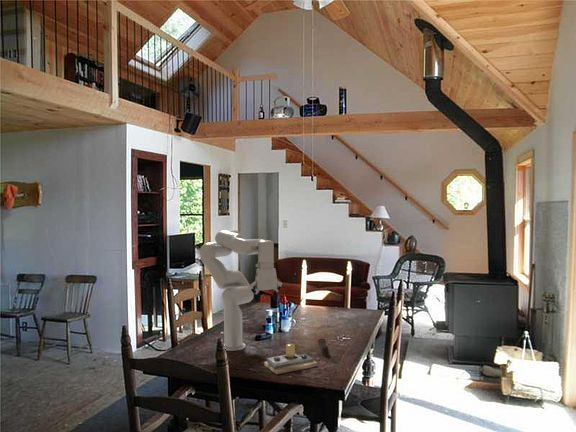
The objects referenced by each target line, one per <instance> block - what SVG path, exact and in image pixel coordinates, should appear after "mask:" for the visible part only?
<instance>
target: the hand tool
mask: <svg viewBox="0 0 576 432" xmlns="http://www.w3.org/2000/svg"><path fill="white" fill-rule="evenodd" d="M317 342H318V347H320V351H321V355H322V356H323V357H324V358H326V357H327V354H328V345H327V342H326V339H325V338H319V339H318V340H317Z"/></svg>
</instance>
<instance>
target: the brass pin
mask: <svg viewBox="0 0 576 432" xmlns="http://www.w3.org/2000/svg"><path fill="white" fill-rule="evenodd" d="M295 348H296V345H295V343H287V344H286V345H285V355H286V359H287V360H291V359H295V354H296V349H295Z"/></svg>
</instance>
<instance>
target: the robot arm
mask: <svg viewBox="0 0 576 432" xmlns="http://www.w3.org/2000/svg"><path fill="white" fill-rule="evenodd" d="M214 236H215V237H214V240H215V241H211V242H205V243H204V244H203V245H201V246H200V249H199V255H200V260H201V262H202V264H203V265H204V267H205V268H206V269H207V271H208V272H209V273H210V276H211V277H212V279H213V280H214V282H215V283H216V287H218V288H219V289H220V290H223V291H222V293H221V301H222V307H223V334H224V335H223V337H224V339H223V342H224V343H223V344H224V346H225V349H226V350H225V351H227V352H234V351H235V352H237V351H242V350H245V348H246V343H244V342H243V312H242V309H241V307H240V306H239V305H243V304H247V303H251V301H254V302H255V303H257V304H258V303H259V300H260V298H259V296H260V295H259V293H260V291H271V290H273V291H272V300H273V301H275V302H277V301H278V293H279V291H280V290H281V288H282V285H283V282H282V281H280V280H278V277H277V276H278V275H277V270H276V268H274V267H275V266H274V264H275V261H274V260H275V259H274V258H275V252H274V250H275V249H274V248H275V247H274V246H275V245H274V241H273V240H270V239H268V240H267V239H262V238H250V239H249V238H248V239H244V236H243V235H242V234H241V232H240V231H239V230H236V229H229V230H228V229H226V230H225V229H223V230H219V231H218V232H217V233H216V234H215V235H214ZM233 252H234V254H235V253H236V254H237V255H242V256H249V255H251V256H252V255H257V258H258V259H257V263H256V264H255V267H256V271H255V272H256V273H255V280H254V281H253V282H252V283H249V281H248V280H247V278H246V276H245V275H244V274H243V272H241V271H240V270H238V269H233V270H231V269H230V270H228V269H227V268H226V266H225V264H224V263H223V262H222V261H220V260H219V259H218V258H220V257H221V258H222V257H228V256H230V255H231V254H232V253H233ZM254 287H255V289H254Z"/></svg>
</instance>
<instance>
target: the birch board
mask: <svg viewBox="0 0 576 432" xmlns="http://www.w3.org/2000/svg"><path fill="white" fill-rule="evenodd" d="M263 365H264V366H265V367H266V368H267V369H269V371H271V372H273V373H274V374H275V375H280V374H286V373H290V372H294V371H299V370H304V369H310V368H315V367H318V361H315V360H314V361H313V362H308V363H303V364H298V365H293V366H288V367H282V368H277V369H274V368H273V367H272V366H270V365H269V364H268V363H267V360H266V361H264V362H263Z"/></svg>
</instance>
